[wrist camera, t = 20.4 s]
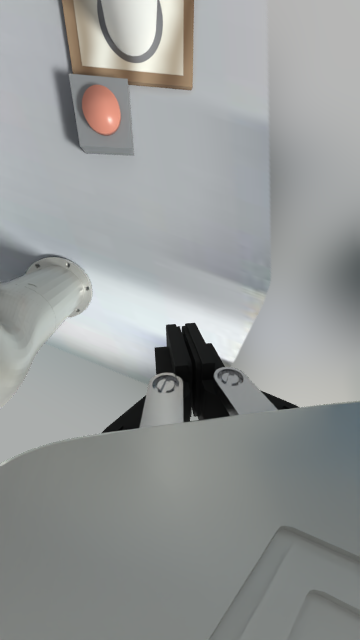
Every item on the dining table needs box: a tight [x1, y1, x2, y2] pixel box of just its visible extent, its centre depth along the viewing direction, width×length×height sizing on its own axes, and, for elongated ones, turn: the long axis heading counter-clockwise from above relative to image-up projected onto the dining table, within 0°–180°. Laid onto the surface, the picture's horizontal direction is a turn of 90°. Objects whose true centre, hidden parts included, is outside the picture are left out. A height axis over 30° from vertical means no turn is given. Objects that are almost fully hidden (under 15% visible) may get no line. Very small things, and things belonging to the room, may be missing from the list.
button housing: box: [69, 74, 134, 155], centre depth 32 cm, size 8×8×4 cm
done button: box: [82, 85, 121, 136], centre depth 31 cm, size 5×5×4 cm
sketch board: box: [62, 0, 194, 90], centre depth 30 cm, size 18×13×1 cm
